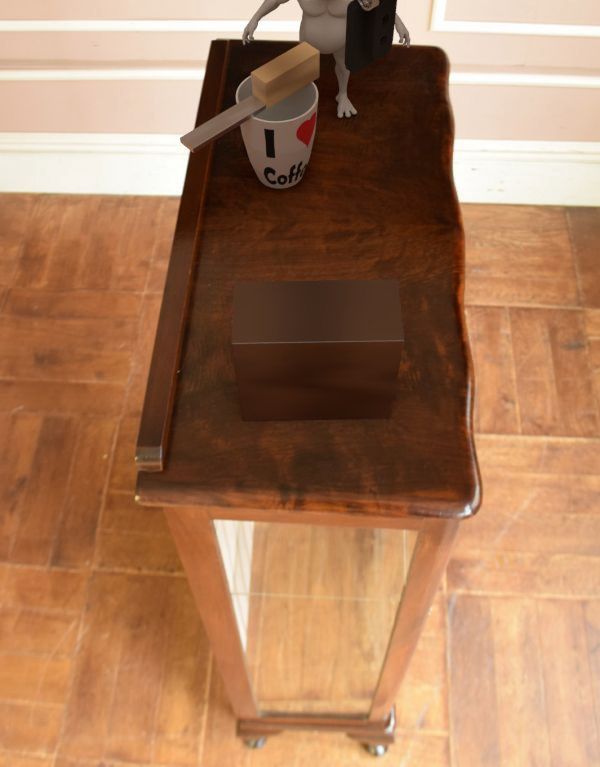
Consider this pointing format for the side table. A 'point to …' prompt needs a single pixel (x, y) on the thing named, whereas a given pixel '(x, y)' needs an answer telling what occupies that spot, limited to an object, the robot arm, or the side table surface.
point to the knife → (261, 93)
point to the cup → (281, 136)
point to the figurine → (324, 36)
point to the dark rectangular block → (317, 348)
